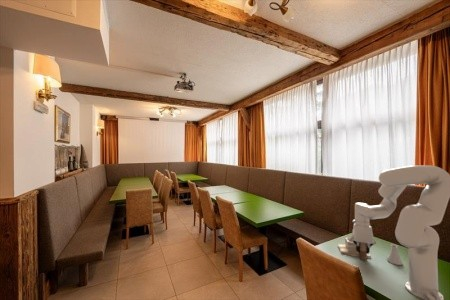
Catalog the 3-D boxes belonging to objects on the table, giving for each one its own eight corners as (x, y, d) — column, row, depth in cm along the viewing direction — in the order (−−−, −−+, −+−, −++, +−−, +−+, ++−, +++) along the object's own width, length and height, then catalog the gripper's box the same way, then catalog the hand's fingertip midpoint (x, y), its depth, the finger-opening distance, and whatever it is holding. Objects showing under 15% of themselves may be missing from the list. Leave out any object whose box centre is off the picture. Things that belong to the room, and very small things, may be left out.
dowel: (367, 261, 116) (367, 241, 117) (360, 260, 118) (359, 240, 118) (365, 258, 120) (365, 239, 120) (358, 257, 121) (357, 238, 122)
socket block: (370, 258, 120) (370, 246, 120) (341, 253, 125) (341, 242, 126) (364, 249, 131) (364, 238, 131) (337, 245, 137) (337, 235, 137)
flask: (405, 266, 111) (405, 249, 112) (391, 264, 113) (391, 247, 113) (397, 259, 119) (397, 243, 119) (384, 258, 120) (383, 242, 120)
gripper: (348, 223, 119) (348, 253, 118) (380, 226, 113) (381, 258, 113) (345, 219, 126) (345, 247, 125) (375, 222, 120) (376, 252, 120)
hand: (362, 252), depth 119 cm, fingers closed on dowel, 4 cm apart
